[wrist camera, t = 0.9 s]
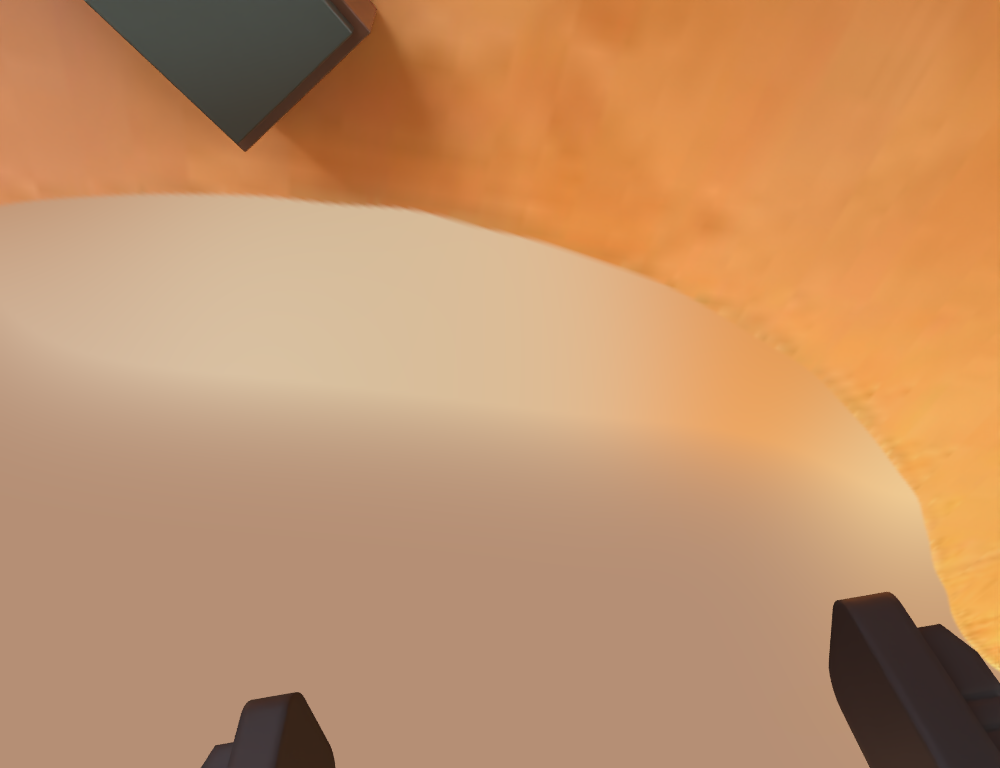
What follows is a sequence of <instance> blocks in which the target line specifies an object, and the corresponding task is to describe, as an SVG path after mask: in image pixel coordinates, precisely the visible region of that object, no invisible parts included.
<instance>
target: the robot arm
mask: <svg viewBox="0 0 1000 768" xmlns="http://www.w3.org/2000/svg"><path fill="white" fill-rule="evenodd" d="M829 672H830V678H831V682H832V686H833V690H834V693H835V696H836V698H837V701H838V704H839V706H840V708H841V710H842V712H843V714H844V716H845V718H846V720H847V722H848V724H849V726H850V729H851V731H852V733H853V735H854V736H855V738H856V741H857V743H858V745H859V747H860V749H861V751H862V753H863V755H864V756H865V759H866V761H867V763H868V765H869V767H870V768H1000V683H999V682H998V680H997V679H996V677H995V676H994V675H993V673H992V672H991V670H990V669H989V668H988V666H987V665H986V663H985V662H984V661H983V659H982V658H981V657H980V655H979V654H978V652H976V651H975V650H974V649H972V648H971V647H970V646H969V645H967V644H966V643H965V642H963V641H962V640H961V639H959V638H958V637H957V636H955V635H954V634H953V633H951V632H950V631H949V630H948V629H946V628H945V627H944V626H942V625H941V624H937V625H931V626H926V627H919V628H917V627H916V625H915V624H914V622H913V621H912V619H911V618H910V616H909V615H908V613H907V612H906V610H905V608H904V607H903V606H902V604H901V603H900V601H899V600H898V599H897V598H896V597H895V596H894V595H893V594H891V593H890V592H883V593H878V594H872V595H866V596H861V597H854V598H849V599H843V600H837V601H836V602H835V603H834V605H833V614H832V627H831V640H830V653H829ZM201 768H335V761H334V756H333V752H332V749H331V746H330V744H329V742H328V741H327V739H326V737H325V735H324V733H323V731H322V730H321V728H320V726H319V724H318V722H317V721H316V718H315V717H314V715H313V713H312V711H311V709H310V707H309V706H308V704H307V702H306V700H305V698H304V697H303V695H302V694H301V693H299V692H295V693H290V694H284V695H278V696H272V697H266V698H261V699H255V700H250V701H248V703H246V705H245V706H244V708H243V710H242V713H241V717H240V720H239V724H238V728H237V732H236V735H235V739H234V742H233V743H227V744H221V745H216V746H215V747H214V749H213V750H212V751H211V753H210V755H209V756H208V758H207V759H206V761H205V762H204V764H203V765H202V767H201Z"/></svg>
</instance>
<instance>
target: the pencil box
mask: <svg viewBox="0 0 1000 768" xmlns="http://www.w3.org/2000/svg"><path fill="white" fill-rule="evenodd" d="M84 1H85V2H86V3H87V4H88V5H89V6H90V7H91V8H93V9H94V10H95V11H96V12H97V13H98V14H99V15H100V16H101V17H102V18H103V19H104V20H105V21H106V22H107V23H108V24H110V25H111V26H112V27H113V28H114V29H115V30H116V31H117V32H118V33H119V34H120V35H121V36H122V37H123V38H124V39H125V40H127V41H128V42H129V43H130V44H131V45H132V46H133V47H134V48H135V49H136V50H137V51H138V52H139V53H140V54H141V55H142V56H144V57H145V58H146V59H147V60H148V61H149V62H150V63H151V64H152V65H153V66H154V67H155V68H156V69H157V70H158V71H159V72H161V73H162V74H163V75H164V76H165V77H166V78H167V79H168V80H169V81H170V82H171V83H172V84H173V85H174V86H175V87H176V88H178V89H179V90H180V91H181V92H182V93H183V94H184V95H185V96H186V97H187V98H188V99H189V100H190V101H191V102H192V103H193V104H195V105H196V106H197V107H198V108H199V109H200V110H201V111H202V112H203V113H204V114H205V115H206V116H207V117H208V118H209V119H210V120H212V121H213V122H214V123H215V124H216V125H217V126H218V127H219V128H220V129H221V130H222V131H223V132H224V133H225V134H226V135H227V136H229V137H230V138H231V139H232V140H233V141H234V142H235V143H236V144H237V145H238V146H239V147H240V148H241V149H242V150H243V151H245V152H246V151H247V150H248V149H249V148H250V147H251V146H253V145H254V144H255V143H256V142H257V141H258V140H259V139H260V138H261V137H262V136H263V135H264V134H265V133H266V132H267V131H268V130H269V129H270V128H271V127H272V126H273V125H275V124H276V123H277V122H278V121H279V120H280V119H281V118H282V117H283V116H284V115H285V114H286V113H287V112H288V111H289V110H290V109H291V108H292V107H293V106H294V105H295V104H297V103H298V102H299V101H300V100H301V99H302V98H303V97H304V96H305V95H306V94H307V93H308V92H309V91H310V90H311V89H312V88H313V87H314V86H315V85H316V84H317V83H319V82H320V81H321V80H322V79H323V78H324V77H325V76H326V75H327V74H328V73H329V72H330V71H331V70H332V69H333V68H334V67H335V66H336V65H337V64H338V63H339V62H341V61H342V60H343V59H344V58H345V57H346V56H347V55H348V54H349V53H350V52H351V51H352V50H353V49H354V48H355V47H356V46H357V45H358V44H359V43H360V42H361V41H362V40H364V39H365V38H366V37H367V36H368V35H369V34H370V32H371V28H372V25H373V21H374V17H375V14H376V10H377V8H376V7H375V6H374V4H373V3H372V2H371V1H370V0H84Z"/></svg>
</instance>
